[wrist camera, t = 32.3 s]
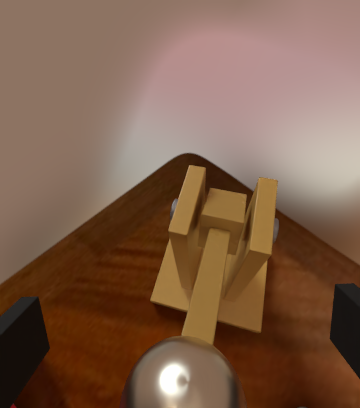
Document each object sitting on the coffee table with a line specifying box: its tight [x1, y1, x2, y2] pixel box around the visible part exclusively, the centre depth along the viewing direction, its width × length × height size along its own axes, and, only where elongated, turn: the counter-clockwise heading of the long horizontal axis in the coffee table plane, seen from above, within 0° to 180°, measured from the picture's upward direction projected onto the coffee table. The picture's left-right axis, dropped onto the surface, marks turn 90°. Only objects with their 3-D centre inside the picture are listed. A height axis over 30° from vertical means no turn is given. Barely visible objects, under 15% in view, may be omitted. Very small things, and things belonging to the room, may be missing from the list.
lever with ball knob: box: [120, 188, 247, 408], centre depth 10 cm, size 12×4×4 cm, turn 165°
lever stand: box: [151, 165, 279, 333], centre depth 18 cm, size 8×10×14 cm
